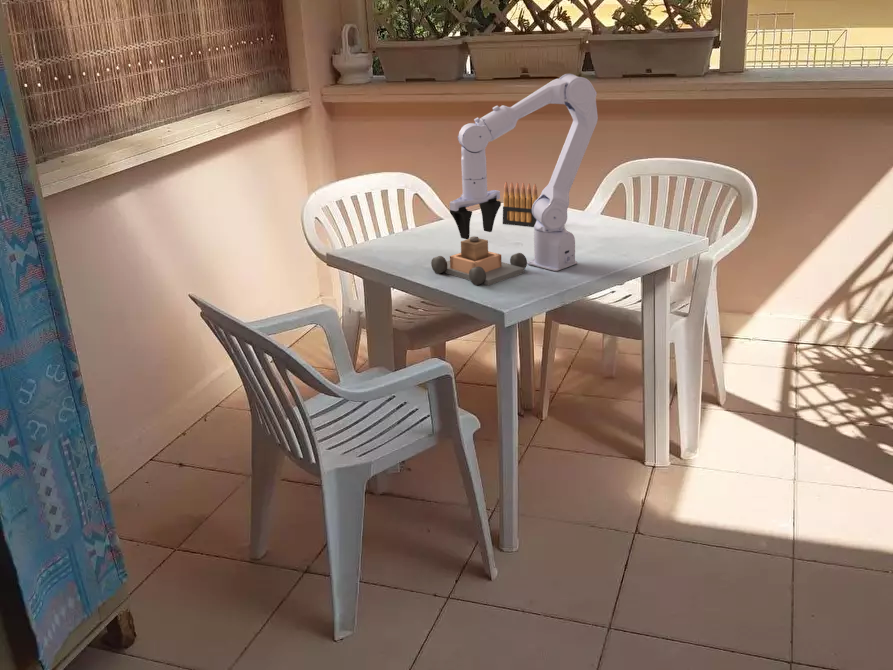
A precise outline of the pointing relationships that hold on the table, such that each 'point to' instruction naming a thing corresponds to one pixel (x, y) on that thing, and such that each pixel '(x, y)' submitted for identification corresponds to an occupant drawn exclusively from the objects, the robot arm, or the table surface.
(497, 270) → the chassis
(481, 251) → the block
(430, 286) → the table surface
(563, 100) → the robot arm
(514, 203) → the ammunition clip
